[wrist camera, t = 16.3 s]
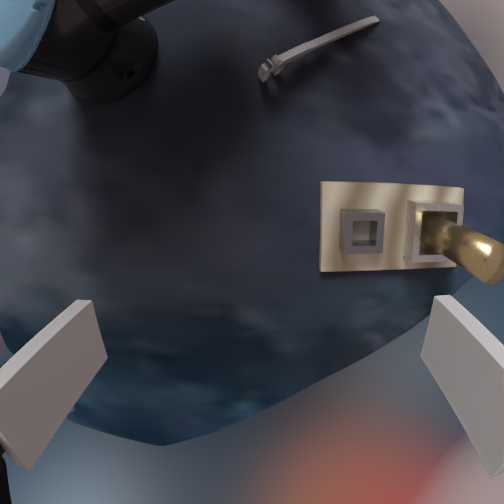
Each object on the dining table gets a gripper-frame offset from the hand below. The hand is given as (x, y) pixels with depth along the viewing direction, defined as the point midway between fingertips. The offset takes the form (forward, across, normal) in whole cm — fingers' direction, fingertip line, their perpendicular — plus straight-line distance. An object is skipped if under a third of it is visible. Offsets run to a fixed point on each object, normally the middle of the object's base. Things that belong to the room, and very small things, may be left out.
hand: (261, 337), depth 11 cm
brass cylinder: (+30, +23, -3) cm, 38 cm away
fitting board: (+32, +18, -3) cm, 37 cm away
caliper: (+32, +8, +22) cm, 40 cm away
